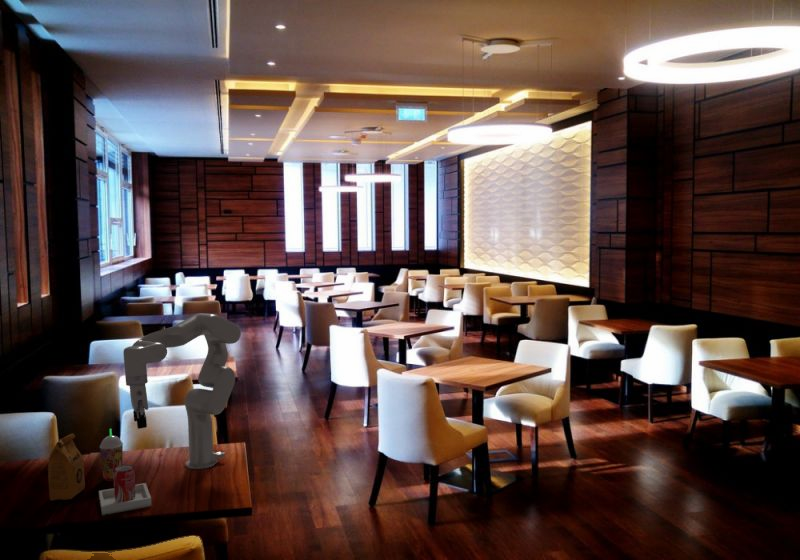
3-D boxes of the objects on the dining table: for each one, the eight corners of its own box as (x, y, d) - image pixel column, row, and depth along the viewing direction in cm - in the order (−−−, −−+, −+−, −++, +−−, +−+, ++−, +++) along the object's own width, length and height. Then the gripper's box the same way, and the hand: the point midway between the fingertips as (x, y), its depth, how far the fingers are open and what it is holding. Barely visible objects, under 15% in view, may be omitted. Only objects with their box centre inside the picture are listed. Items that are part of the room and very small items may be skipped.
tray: (145, 490, 256) (145, 482, 256) (151, 506, 242) (151, 497, 242) (99, 498, 249) (98, 490, 249) (102, 515, 235) (101, 506, 235)
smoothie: (96, 480, 267) (94, 430, 265) (114, 473, 274) (112, 424, 273) (111, 484, 263) (108, 433, 261) (129, 477, 270) (126, 427, 269)
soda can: (114, 498, 248) (113, 465, 247) (135, 495, 250) (134, 463, 249) (114, 505, 241) (112, 472, 240) (135, 502, 244) (134, 469, 243)
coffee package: (90, 489, 258) (87, 432, 257) (71, 502, 246) (68, 442, 244) (64, 488, 259) (61, 431, 257) (45, 502, 247) (41, 442, 245)
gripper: (150, 383, 248) (154, 428, 250) (144, 373, 263) (147, 416, 265) (128, 386, 245) (132, 432, 247) (123, 376, 260) (126, 419, 262)
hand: (140, 424), depth 256 cm, fingers open, 9 cm apart
